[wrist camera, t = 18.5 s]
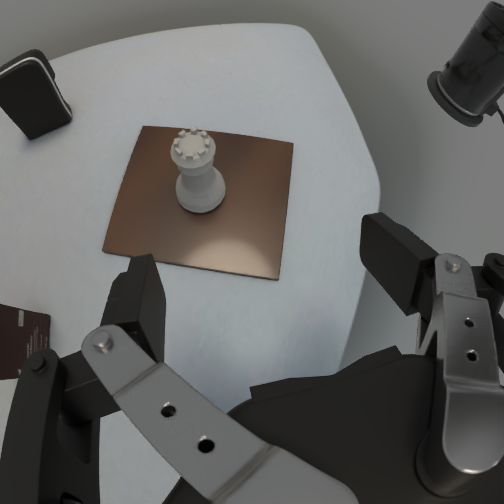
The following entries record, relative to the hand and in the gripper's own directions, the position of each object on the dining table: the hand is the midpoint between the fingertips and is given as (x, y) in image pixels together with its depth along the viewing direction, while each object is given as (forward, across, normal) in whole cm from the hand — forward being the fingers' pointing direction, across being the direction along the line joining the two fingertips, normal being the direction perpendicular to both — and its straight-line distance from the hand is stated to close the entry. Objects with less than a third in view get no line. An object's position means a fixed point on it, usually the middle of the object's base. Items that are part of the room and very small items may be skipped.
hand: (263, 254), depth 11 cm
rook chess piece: (+18, +2, +3) cm, 18 cm away
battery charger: (+29, +20, -7) cm, 36 cm away
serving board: (+18, +2, +3) cm, 18 cm away
